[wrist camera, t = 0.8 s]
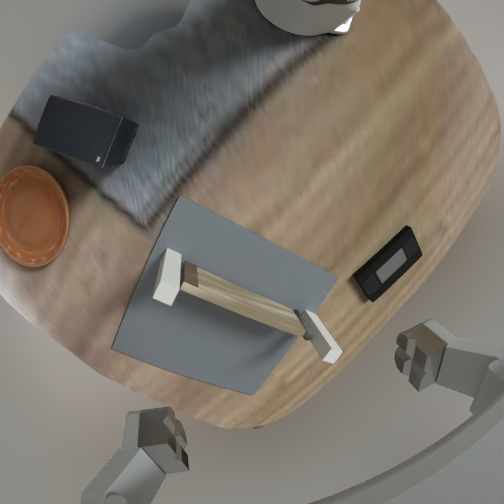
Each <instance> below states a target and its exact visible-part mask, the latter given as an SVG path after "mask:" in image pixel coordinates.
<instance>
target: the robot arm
mask: <svg viewBox="0 0 504 504" xmlns="http://www.w3.org/2000/svg"><path fill="white" fill-rule="evenodd" d="M360 2H361V0H255V3H256V5H257V7H258V9H259V11H260V12H261V13H262V15H263V16H264V17H265V18H266V19H267V20H269V21H270V22H271V23H272V24H274V25H275V26H277V27H279V28H280V29H283V30H285V31H287V32H290V33H293V34H297V35H304V36H314V35H319V34H323V33H334V34H345V33H346V32H347V31H348V30H349V27H350V24H351V21H352V18H353V16H354V15H355V14H356V13H358V12H359V10H360V9H359V6H360ZM343 23H344V24H343ZM396 343H397V344H398V345H399V347H398V348H397V350H396V351H395V363H396V366H397V368H398V370H399V371H400V372H401V373H402V374H404V375H408V376H409V382H410V383H411V384H412V385H413V386H414V388H415V389H416V390H417V391H418V392H419V391H421V390H423V389H424V388H426V387H428V386H429V385H432V384H433V383H435V382H436V383H437V384H439V385H441V386H444V387H447V388H449V389H452V390H454V391H457V392H460V393H463V394H465V395H468V396H471V397H474V400H473V402H472V404H471V406H470V411H471V412H472V413H473V414H474V415H473V416H472V417H470V418H469V419H468V420H466V421H465V422H464V423H462V424H461V425H460V426H458V427H457V428H456V429H454V430H453V431H451V432H450V433H449V434H447V435H446V436H444V437H443V438H441V439H440V440H438V441H437V442H435V443H434V444H432V445H431V446H429V447H428V448H426V449H424V450H423V451H421V452H419V453H418V454H416V455H415V456H413V457H411V458H409V459H408V460H406V461H404V462H402V463H401V464H399V465H397V466H395V467H393V468H391V469H389V470H388V471H385V472H384V473H382V474H380V475H378V476H375V477H373V478H371V479H369V480H367V481H365V482H363V483H361V484H358V485H356V486H354V487H351V488H349V489H346V490H344V491H342V492H339V493H337V494H334V495H332V496H329V497H326V498H323V499H321V500H318V501H315V502H312V503H309V504H504V346H502V345H498V344H492V343H487V342H481V341H476V340H470V339H465V338H459V339H457V338H456V337H455V336H453V335H452V334H451V333H450V332H448V331H447V330H446V329H445V328H443V327H442V326H441V325H439V324H438V323H437V322H435V321H434V320H433V319H428V320H426V321H424V322H422V323H420V324H419V325H416V326H414V327H412V328H410V329H408V330H406V331H404V332H402V333H400V334H399V335H398V337H397V342H396ZM186 446H187V440H186V435H185V431H184V428H183V426H182V424H181V422H180V421H179V420H177V419H175V412H174V411H173V409H172V408H171V407H162V408H154V409H147V410H140V411H131V412H128V414H127V416H126V421H125V429H124V437H123V446H122V449H119V450H118V451H117V452H116V453H115V454H114V455H113V457H112V458H111V459H110V460H109V461H108V463H107V464H106V465H105V466H104V467H103V468H102V470H101V471H100V472H99V473H98V474H97V476H96V477H95V478H94V479H93V480H92V482H91V483H90V484H89V485H88V486H87V487H86V488H85V490H84V491H83V492H82V497H81V504H151V502H152V500H153V498H154V497H155V495H156V493H157V491H158V489H159V488H160V486H161V484H162V482H163V480H164V478H165V477H166V474H170V473H176V472H183V471H189V464H188V455H187V453H186V452H185V451H184V448H185V447H186Z"/></svg>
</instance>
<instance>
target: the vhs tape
mask: <svg viewBox="0 0 504 504" xmlns="http://www.w3.org/2000/svg"><path fill="white" fill-rule="evenodd" d="M421 256H422V252H421V250H420V247H419V245H418V243H417V240H416V238H415V235H414V233H413V231H412V229H411V227H409V226H407V225H406V226H405V227H404V228H403V229H402V230H401V231H400V232H399V233H398V234H397V235H395V236H394V237H393V238H392V239H391V240H390V241H389V242H388V243H387V244H386V245H385V246H384V247H383V248H382V249H380V250H379V251H378V252H377V253H376V254H375V255H374V256H373V257H372V258H371V259H370V260H368V261H367V262H366V263H365V264H364V265H363V266H362V267H361V268H359V269H358V270H357V271H356V272H355V273H354V274H353V275H354V277H355V278H356V280H357V282H358V283H359V285H360V286H361V288H362V290H363V291H364V293H365V294H366V296H367V297H368V299H369V300H370V301H372V302H374V301H375V300H376V299H378V298H379V297H380V296H381V295H382V294H383V293H384V292H385V291H386V290H387V289H388V288H390V287H391V286H392V285H393V284H394V283H395V282H396V281H397V280H398V279H399V278H400V277H401V276H402V275H403V274H404V273H405V272H406V271H407V270H408V269H409V268H410V267H411V266H412V265H413V264H414V263H415V262H416V261H417V260H418V259H419V258H420V257H421Z"/></svg>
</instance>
